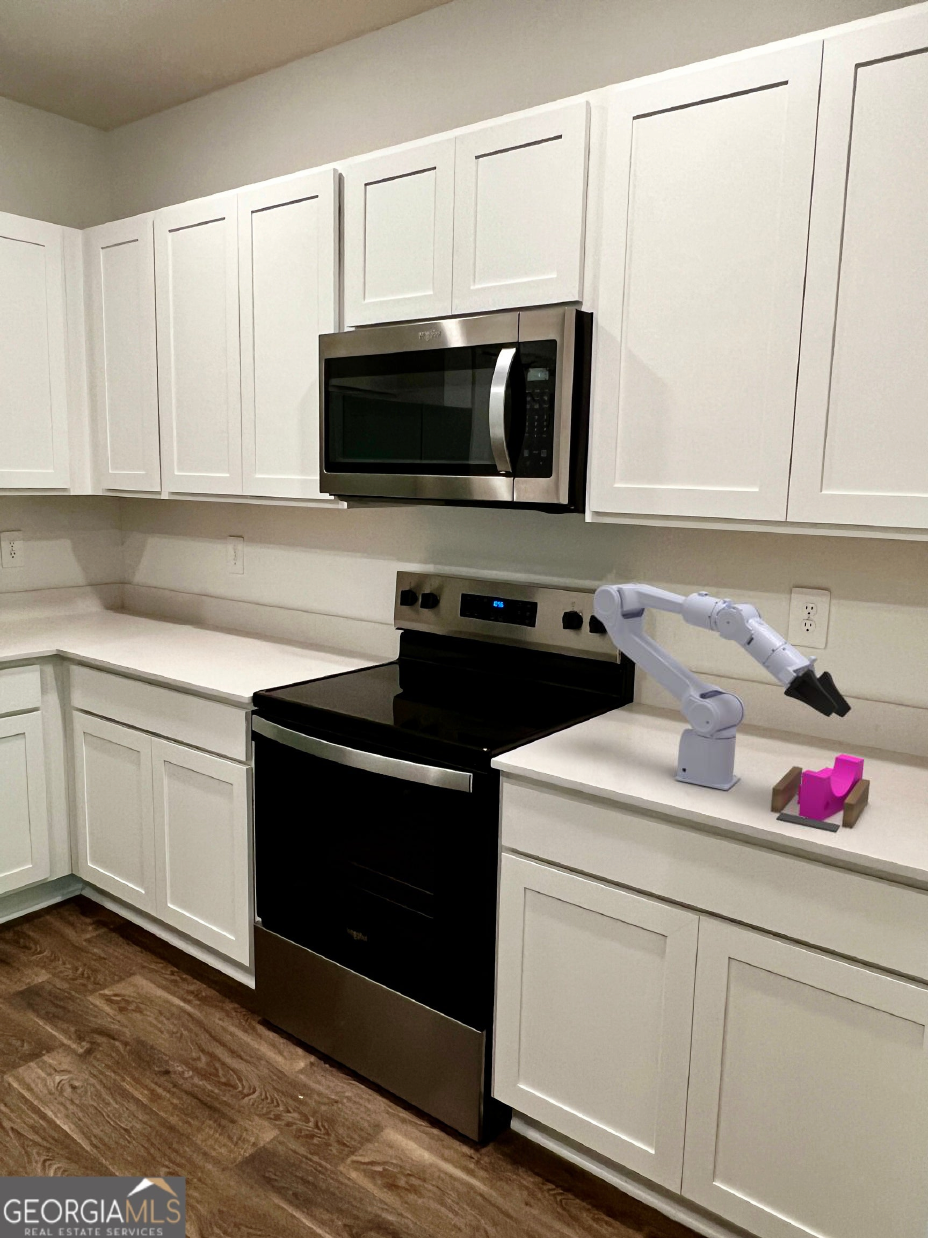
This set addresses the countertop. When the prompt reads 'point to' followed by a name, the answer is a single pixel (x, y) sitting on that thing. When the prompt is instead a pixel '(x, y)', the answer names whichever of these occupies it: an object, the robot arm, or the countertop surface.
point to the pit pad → (808, 822)
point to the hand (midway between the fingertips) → (840, 712)
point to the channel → (792, 781)
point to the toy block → (828, 787)
